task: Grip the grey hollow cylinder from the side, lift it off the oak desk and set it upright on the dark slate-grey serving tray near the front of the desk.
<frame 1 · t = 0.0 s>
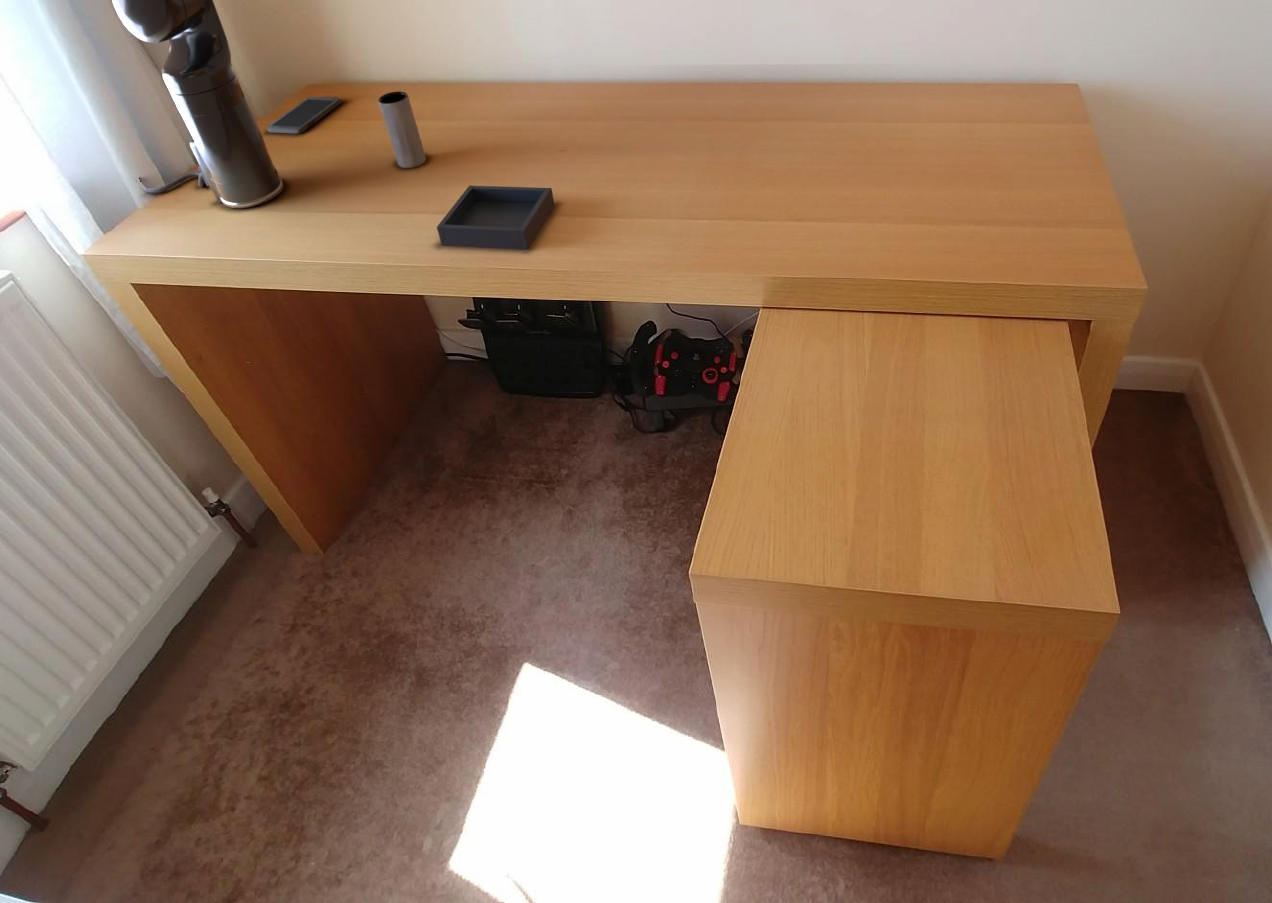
grey hollow cylinder: (412, 163, 133), on the table
tray: (499, 225, 115), on the table
cell phone: (306, 117, 150), on the table
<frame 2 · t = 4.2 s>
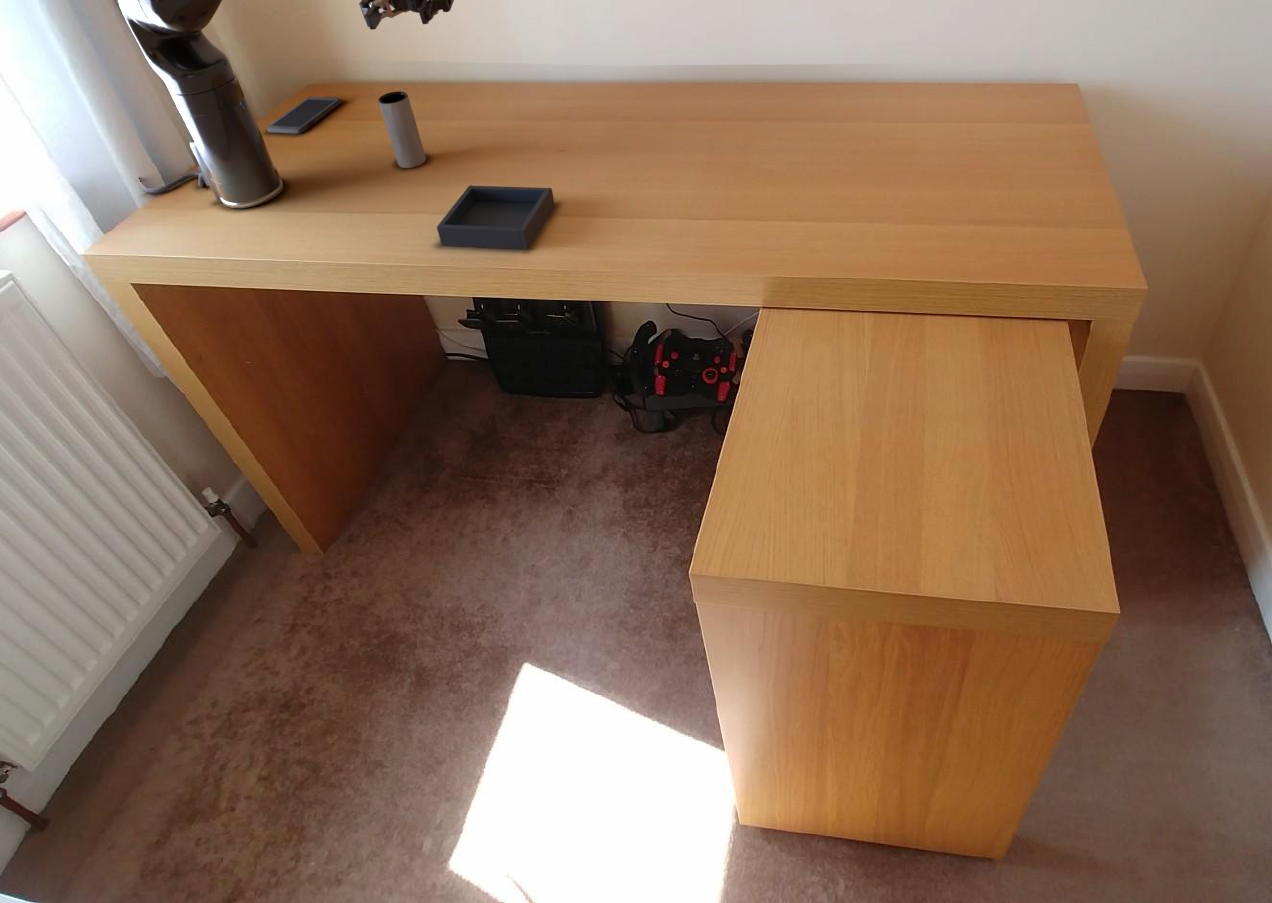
hand: (396, 20, 127), 18 cm above the table, tool horizontal, fingers open, 8 cm apart
nothing on the table moved.
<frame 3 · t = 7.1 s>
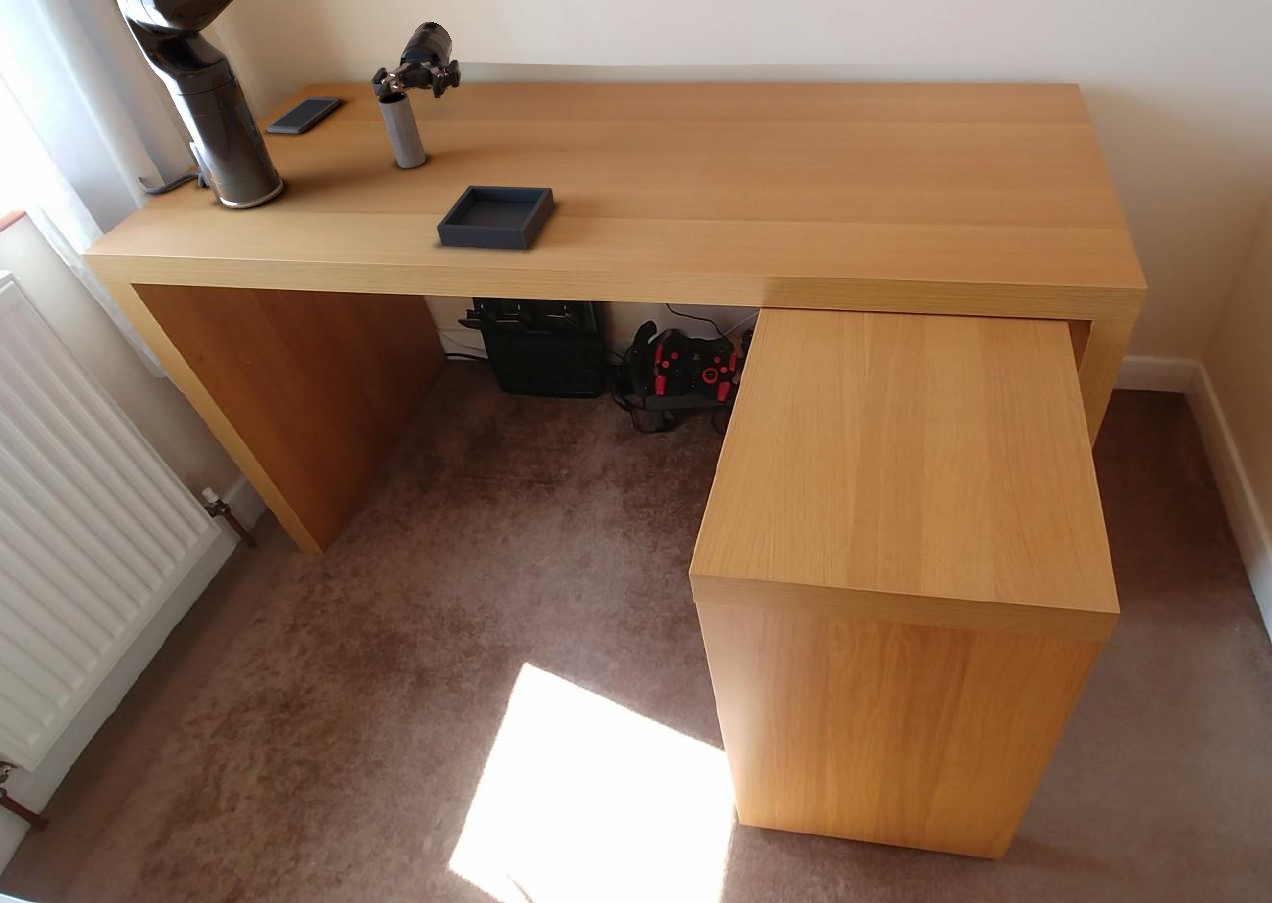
hand: (409, 95, 134), 7 cm above the table, tool horizontal, fingers open, 8 cm apart
nothing on the table moved.
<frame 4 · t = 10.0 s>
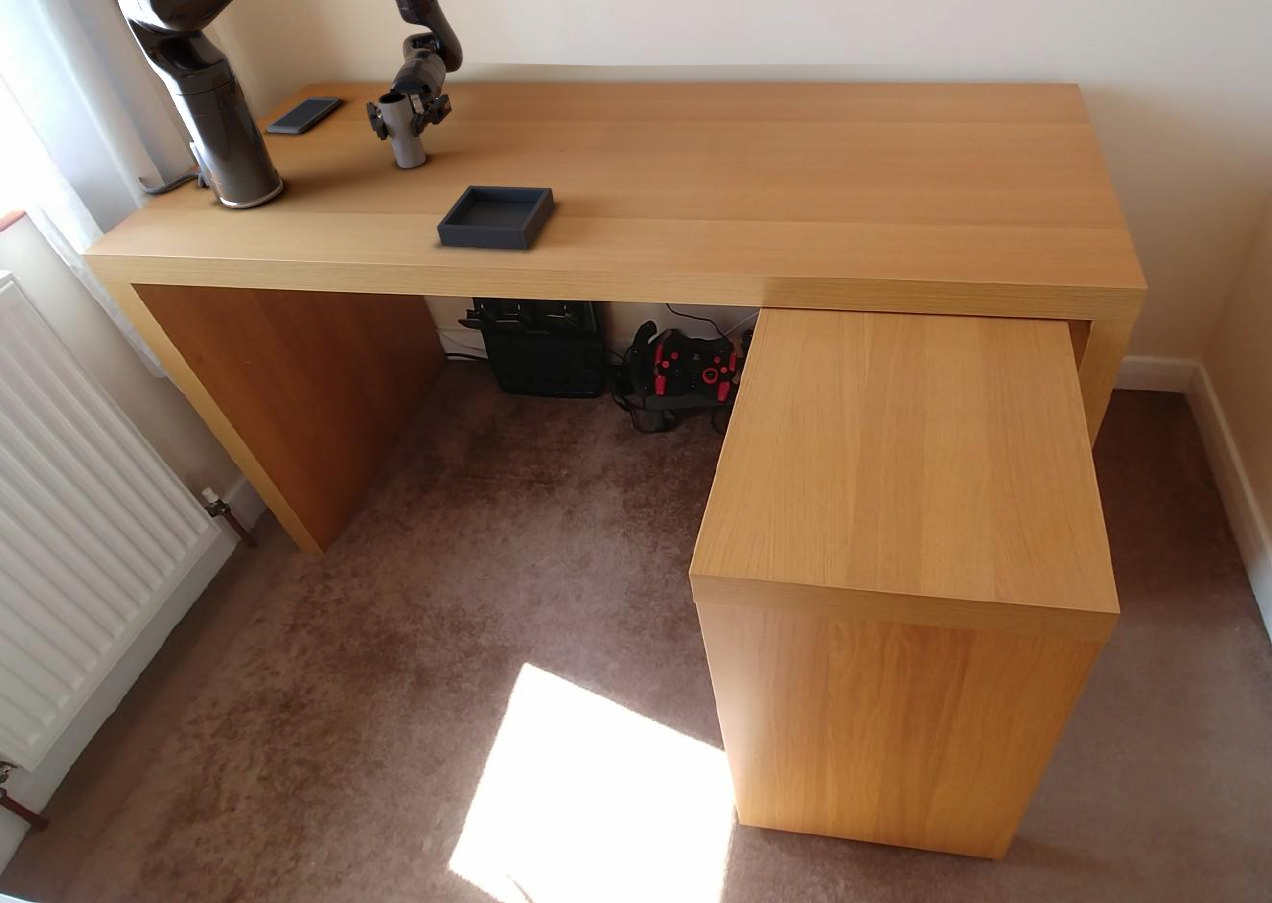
hand: (398, 132, 126), 6 cm above the table, tool horizontal, fingers closed on grey hollow cylinder, 4 cm apart
grey hollow cylinder: (412, 162, 133), on the table, touching gripper
everything else where it was.
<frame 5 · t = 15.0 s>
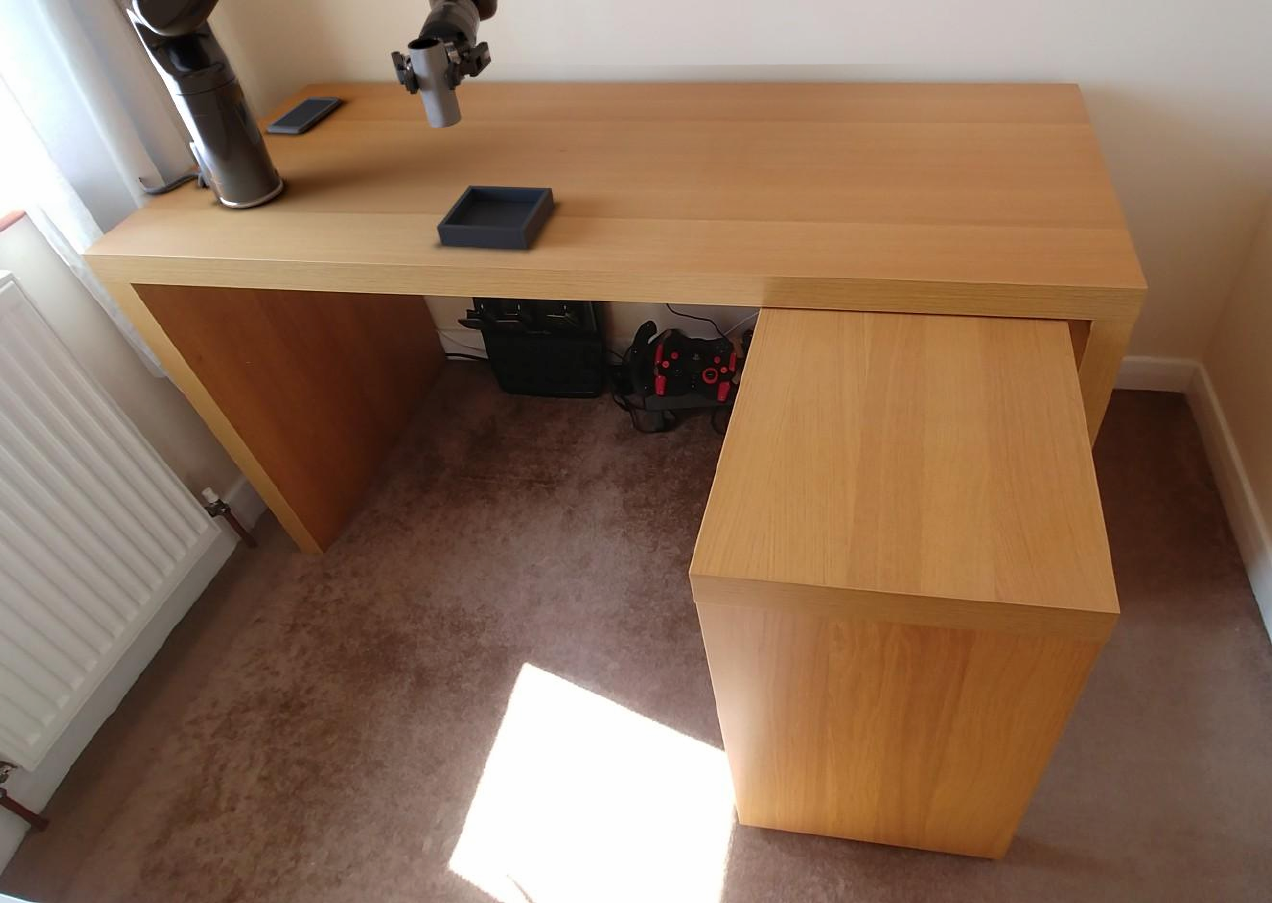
hand: (430, 84, 107), 18 cm above the table, tool horizontal, fingers closed on grey hollow cylinder, 4 cm apart
grey hollow cylinder: (445, 122, 113), point 11 cm above the table, touching gripper
everything else where it was.
when the fingers open (7 cm above the table, at t = 19.8 s): grey hollow cylinder stays where it is, resting on tray.
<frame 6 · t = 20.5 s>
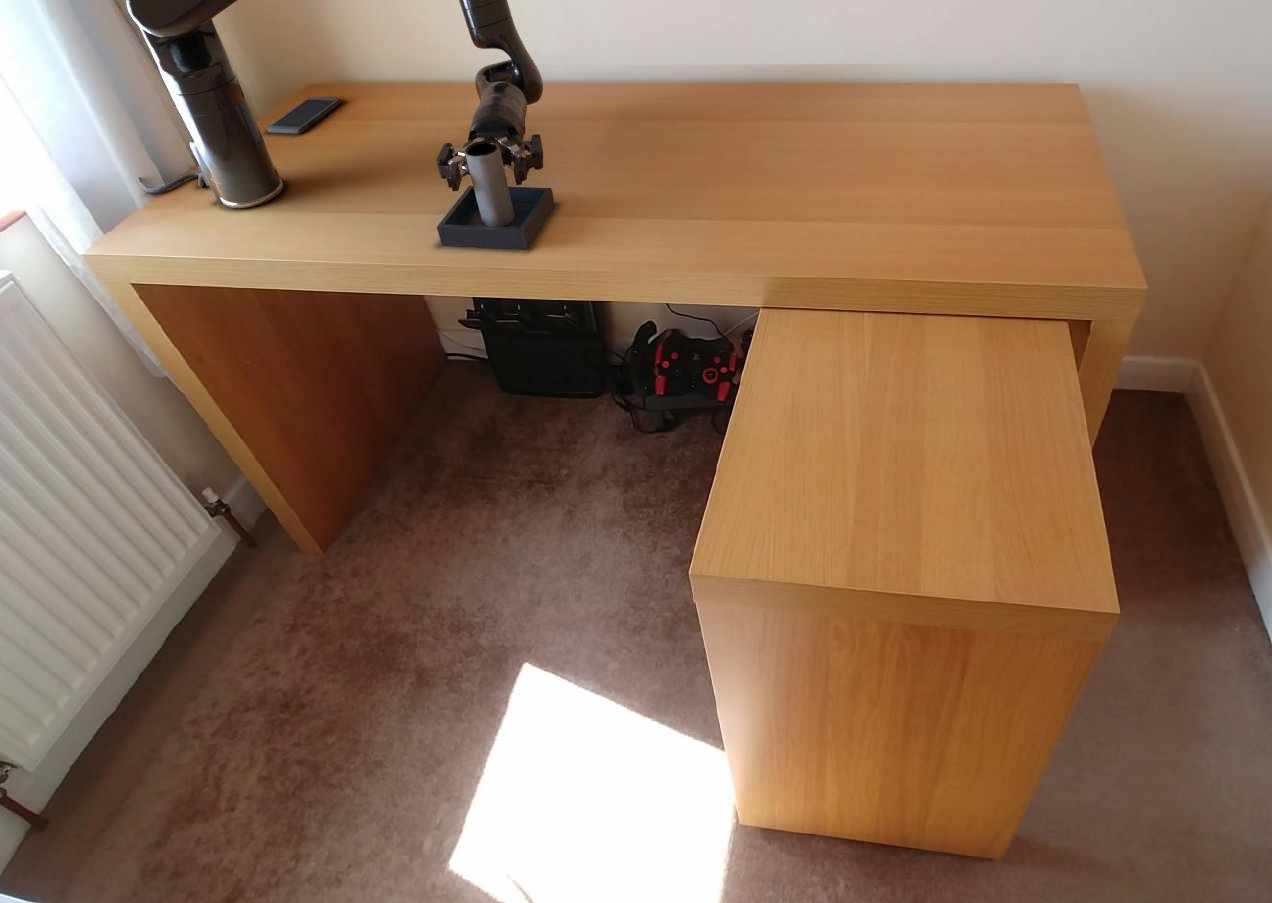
hand: (485, 181, 109), 7 cm above the table, tool horizontal, fingers open, 8 cm apart
grey hollow cylinder: (499, 220, 115), point 1 cm above the table, touching tray
everything else where it was.
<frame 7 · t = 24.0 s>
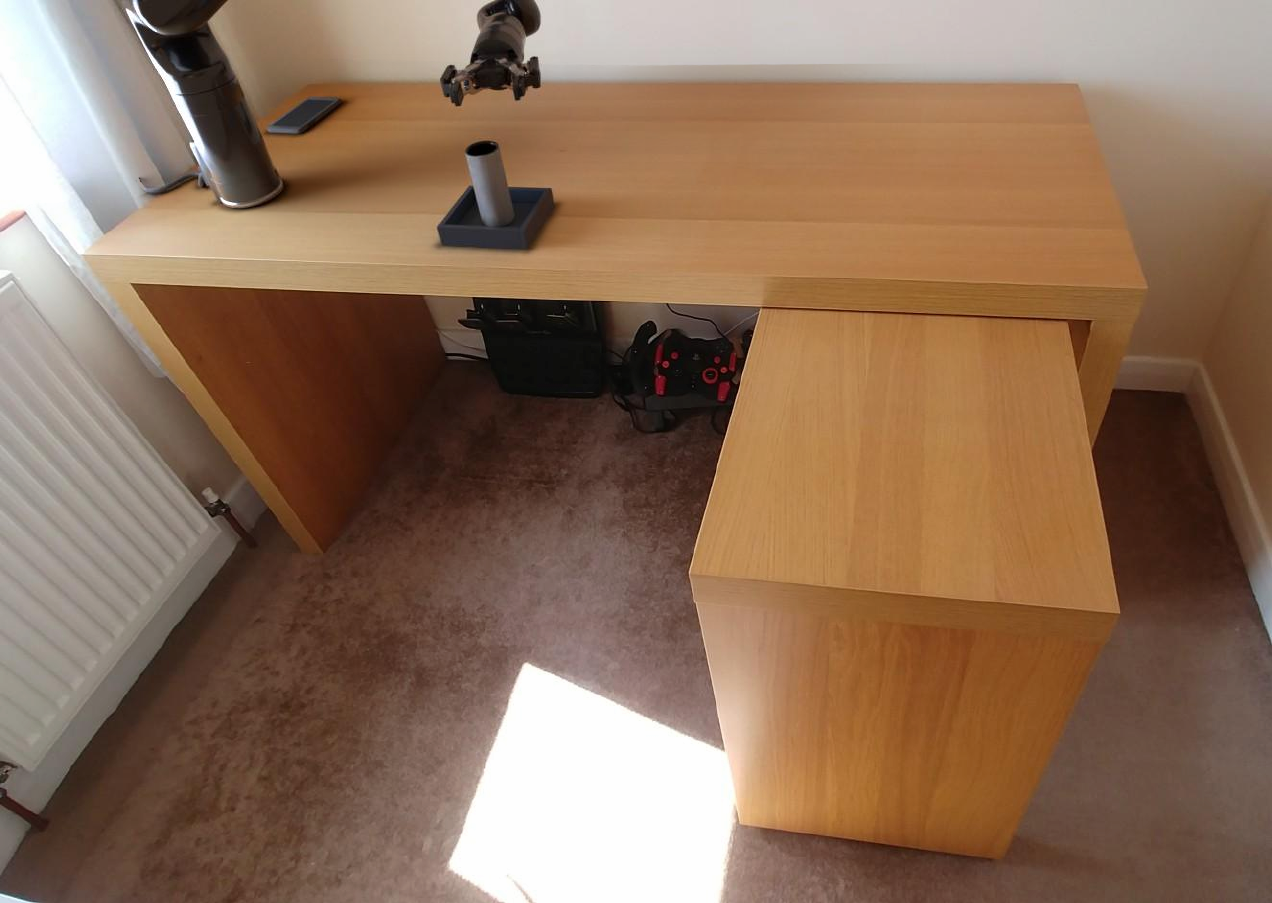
hand: (486, 96, 116), 13 cm above the table, tool horizontal, fingers open, 8 cm apart
nothing on the table moved.
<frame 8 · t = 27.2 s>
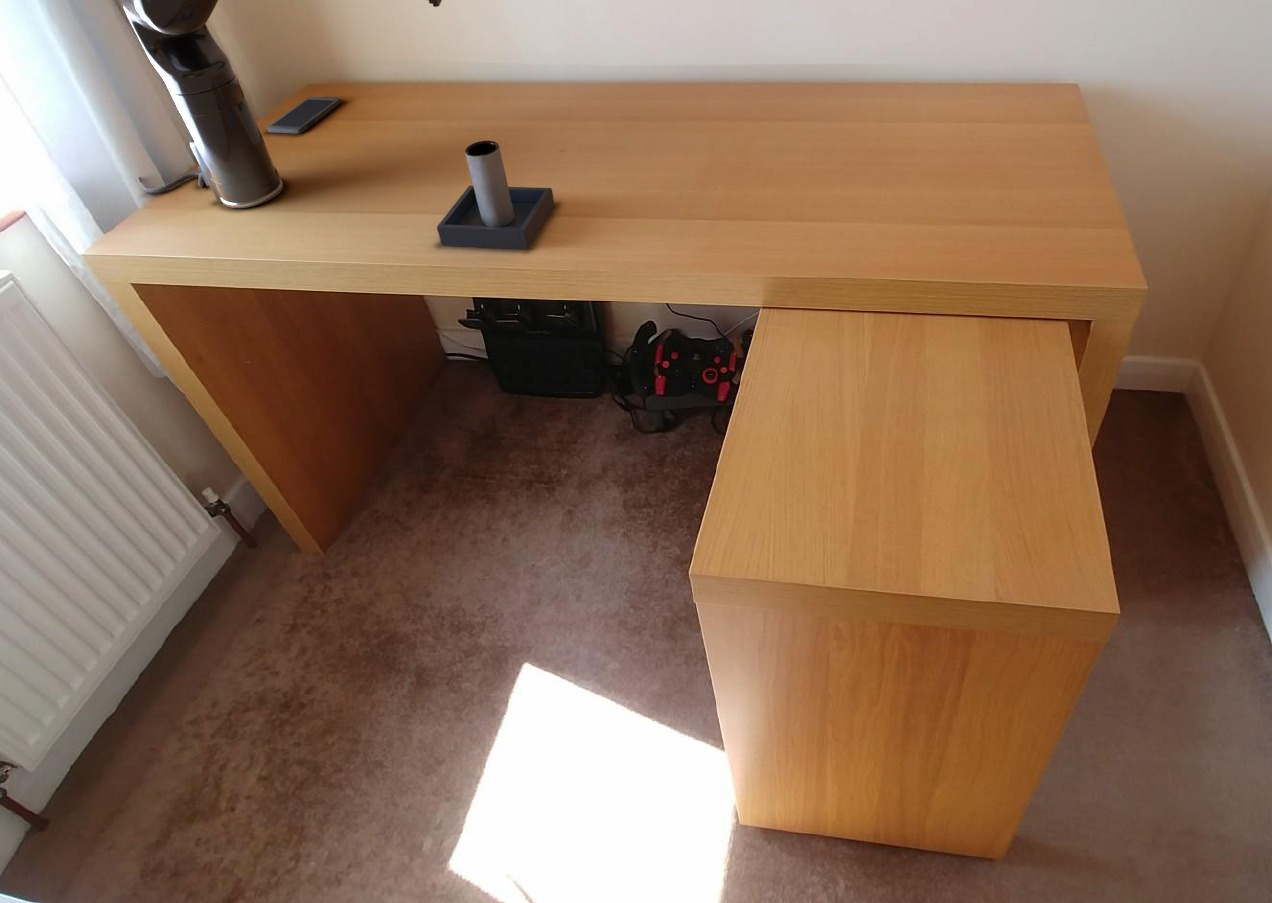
nothing on the table moved.
at the end: grey hollow cylinder inside the target area in the tray (0.2 cm from its centre), point 0.6 cm above the tray's base; grey hollow cylinder tilted 0°; the gripper is holding nothing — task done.
